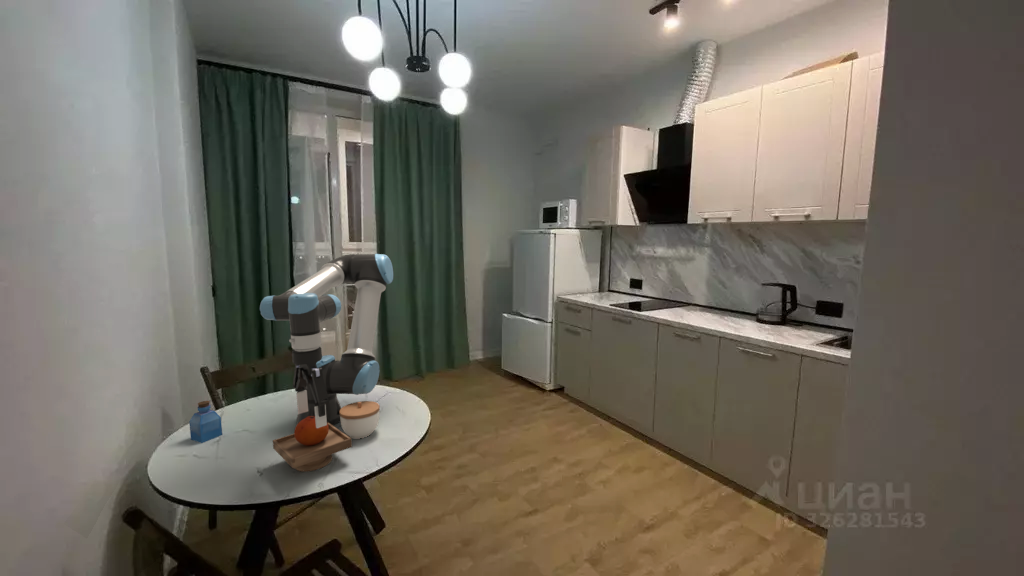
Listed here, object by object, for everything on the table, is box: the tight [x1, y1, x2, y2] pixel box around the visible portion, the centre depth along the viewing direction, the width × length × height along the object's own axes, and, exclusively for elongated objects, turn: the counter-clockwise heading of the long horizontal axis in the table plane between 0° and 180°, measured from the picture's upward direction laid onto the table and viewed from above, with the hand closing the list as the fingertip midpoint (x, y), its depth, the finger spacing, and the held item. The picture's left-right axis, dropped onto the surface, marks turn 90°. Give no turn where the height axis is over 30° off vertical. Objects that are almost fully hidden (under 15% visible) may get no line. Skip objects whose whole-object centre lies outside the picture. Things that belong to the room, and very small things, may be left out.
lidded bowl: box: [339, 400, 381, 440], centre depth 136 cm, size 13×13×11 cm
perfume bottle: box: [189, 400, 223, 444], centre depth 135 cm, size 6×6×12 cm
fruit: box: [293, 416, 329, 446], centre depth 118 cm, size 9×9×8 cm
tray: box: [272, 423, 353, 473], centre depth 119 cm, size 16×16×7 cm
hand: (311, 419), depth 118 cm, fingers open, 13 cm apart
